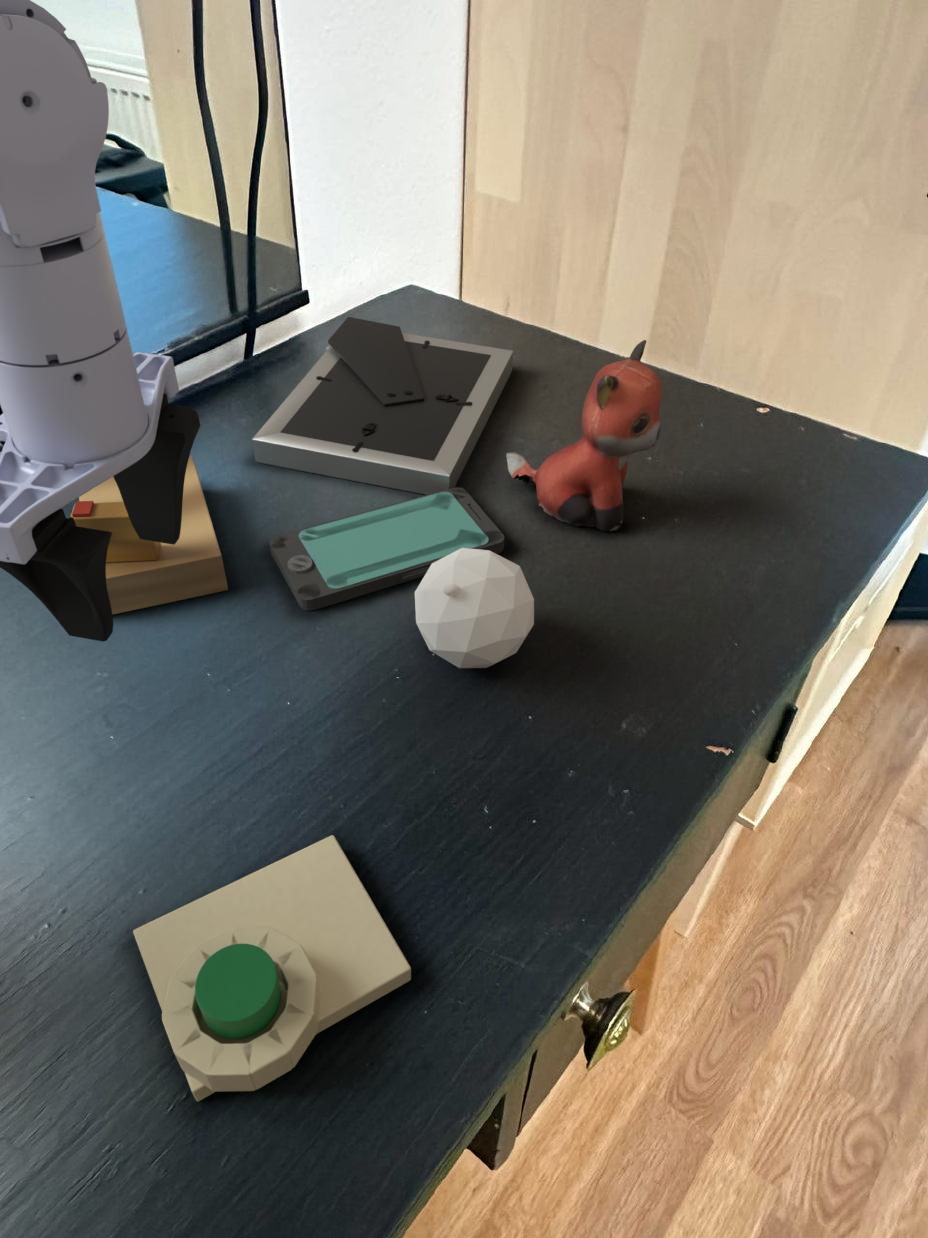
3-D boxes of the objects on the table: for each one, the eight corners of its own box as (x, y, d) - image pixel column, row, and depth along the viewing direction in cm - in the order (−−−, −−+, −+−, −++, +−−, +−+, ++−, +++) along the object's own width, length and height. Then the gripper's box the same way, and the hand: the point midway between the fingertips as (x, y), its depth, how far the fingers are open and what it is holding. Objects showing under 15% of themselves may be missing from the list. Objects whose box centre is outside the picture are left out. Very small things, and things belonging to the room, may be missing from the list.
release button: (218, 1055, 35) (211, 1038, 34) (191, 986, 37) (183, 967, 36) (293, 1013, 36) (289, 995, 35) (263, 949, 38) (258, 929, 37)
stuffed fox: (517, 454, 72) (530, 311, 64) (653, 490, 69) (686, 344, 61) (483, 505, 67) (492, 356, 58) (628, 545, 64) (660, 395, 56)
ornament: (554, 670, 54) (516, 639, 47) (442, 685, 57) (389, 657, 50) (546, 562, 57) (507, 517, 49) (437, 580, 59) (386, 540, 52)
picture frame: (349, 345, 84) (255, 462, 70) (348, 316, 82) (250, 430, 68) (511, 371, 82) (448, 499, 67) (514, 342, 80) (449, 467, 65)
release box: (206, 1133, 36) (193, 1107, 33) (136, 942, 41) (121, 910, 39) (425, 1004, 40) (426, 973, 38) (334, 847, 45) (330, 812, 43)
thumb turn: (161, 544, 57) (149, 496, 55) (158, 560, 56) (145, 512, 54) (88, 547, 57) (73, 499, 54) (84, 563, 56) (67, 515, 53)
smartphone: (266, 535, 61) (461, 482, 66) (268, 550, 62) (461, 496, 67) (302, 601, 57) (509, 539, 62) (304, 616, 57) (508, 553, 63)
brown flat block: (228, 590, 59) (221, 555, 57) (101, 617, 57) (89, 581, 54) (199, 489, 67) (192, 455, 65) (86, 509, 65) (75, 474, 62)
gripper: (56, 256, 42) (121, 492, 52) (-156, 408, 32) (-27, 669, 41) (196, 274, 42) (236, 510, 51) (25, 436, 31) (115, 695, 40)
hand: (127, 583), depth 46 cm, fingers open, 7 cm apart
